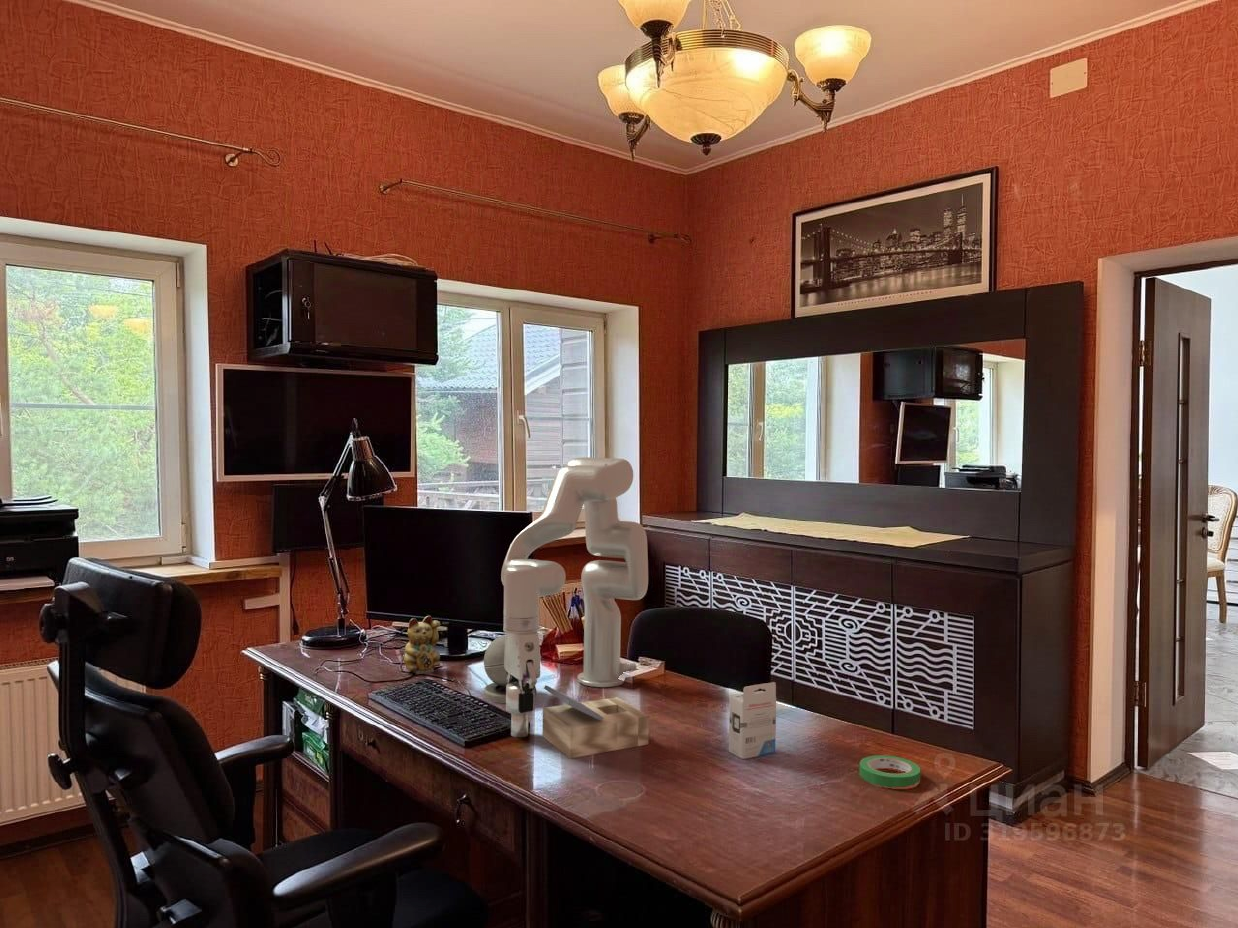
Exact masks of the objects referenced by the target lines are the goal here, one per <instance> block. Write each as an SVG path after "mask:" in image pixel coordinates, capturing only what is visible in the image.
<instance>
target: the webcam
mask: <svg viewBox="0 0 1238 928" xmlns="http://www.w3.org/2000/svg"><path fill="white" fill-rule="evenodd" d="M504 646H505V634H503V635H500V636H498V637H496V638H495V639H494V640H493V641H491V642H490V643H489V645H488V646H487V648H486V650H485V652H484V657H483V668H484V671H485V674H486V676H487V677H488V678H489V680H490V681H491V683H489V684H487V685H486V686H485V687H484V689H483V693H482V694H483V695H482V697H483V698H485V699H486V700H487V701H490V702H494V703H501V704H506V685H507V674H506V670H505V668H504ZM523 678H528V675H526V676H523ZM525 682H528V681H525ZM537 691H538V690H537V687H536V686H535V688H534V695H537V693H538V692H537Z"/></svg>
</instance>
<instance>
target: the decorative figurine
mask: <svg viewBox="0 0 1238 928" xmlns="http://www.w3.org/2000/svg"><path fill="white" fill-rule="evenodd" d="M440 626H441V621H438V619H437V620H435V619H434V620H433V618H432V616H431V615H427V616H425V617H424V618H423V620H422V621H418V619H416V618H411V619H410V620H409V623H408V629H407V636H408V638H409V641H408V642H407V643H406V644H405V646H404V651H405V654H404V656H403V662H404V665H405V668H406V669H408V670H410V671H413V673H414V674H416V675H421V674H422V675H423V674H428V673H434V672H435V669H434V668H436V667H440V666H441V662H440V661H439V660H440V659H441V654H440V651H438V650H437V649H435V648H434V646H436V645H437V644H438V642H439V637H440V636H439V631H438V628H440Z"/></svg>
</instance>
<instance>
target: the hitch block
mask: <svg viewBox="0 0 1238 928" xmlns="http://www.w3.org/2000/svg"><path fill="white" fill-rule="evenodd" d="M580 703H582V704H584V705H585V706H587V707H588V708H590V709H591V710H593V711H594V712H596V713H597V714H599V715H600V716H602V717H603V720H602V721H600V720H598V719H596V718H594V717H592V716H590V715H588V714H586V713H584V712H582V711H579V710H577V709H575V708H573V707H571V706H569V705H567V704H563V705H555V706H547V707H542V729H541V731H542V732H541V733H542V737H543V738H544V739H546V740H547V741H548V742H549V743H551V744H552V745H553V746H555V748H556V749H557V750H559V751H560V752H561V753H563V754H564V755H565V756H567V757H568V758H569V759H575V758H580V757H587V756H590V755H596V754H601V753H606V752H612V751H619V750H624V749H630V748H636V747H641V746H646V745H649V733H650V732H649V726H650V725H649V724H650V719H649V718H650V717H649V715H648V714H646V713H644V712H643V711H641V710H639V709H638V708H636V707H634V706H633V705H631V704H630V703H628V702H626V701H624V700H623V699H621V698H619V697H618V696H615V697H611V698H610V697H609V698H604V699H596V700H589V701H583V702H581V701H580Z"/></svg>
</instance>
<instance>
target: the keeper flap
mask: <svg viewBox="0 0 1238 928" xmlns="http://www.w3.org/2000/svg"><path fill="white" fill-rule="evenodd" d="M543 689H544V690H546V691H547V692H548V693H550V694H551V695H552V696H554V697H556V698H557V699H558V700H560V701H561V702H563V703H565V705H569V706H571V707H573V708H575V709H577V710H579V711H582V712H584V713H586V714H588V715H590V716H592V717H594V718H596V719H598V720H600V721H602V720H603V717H602V716H600V715H599V714H597V713H596V712H594V711H593V710H591V709H590V708H588V707H587V706H585V705H584V704H582V703H581V701H579V700H576V699H575V698H573V697H571V696H569V695H567V694H564V693H563V692H561V691H559V690H557V689H554V688H552V687H550V686H549V685H546V684H545V686H544V687H543Z"/></svg>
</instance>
